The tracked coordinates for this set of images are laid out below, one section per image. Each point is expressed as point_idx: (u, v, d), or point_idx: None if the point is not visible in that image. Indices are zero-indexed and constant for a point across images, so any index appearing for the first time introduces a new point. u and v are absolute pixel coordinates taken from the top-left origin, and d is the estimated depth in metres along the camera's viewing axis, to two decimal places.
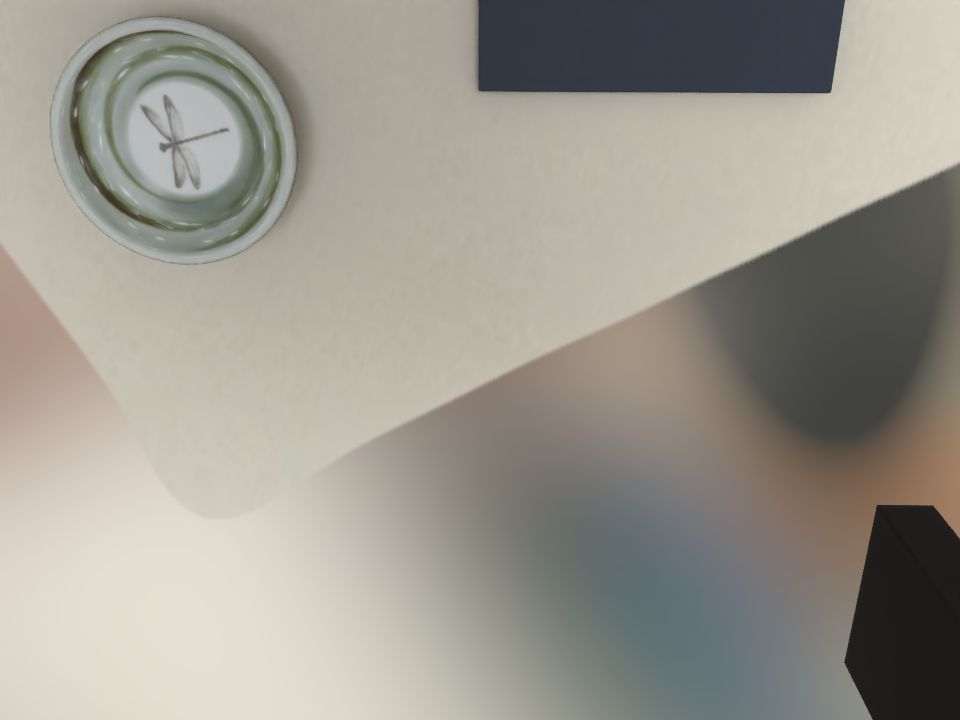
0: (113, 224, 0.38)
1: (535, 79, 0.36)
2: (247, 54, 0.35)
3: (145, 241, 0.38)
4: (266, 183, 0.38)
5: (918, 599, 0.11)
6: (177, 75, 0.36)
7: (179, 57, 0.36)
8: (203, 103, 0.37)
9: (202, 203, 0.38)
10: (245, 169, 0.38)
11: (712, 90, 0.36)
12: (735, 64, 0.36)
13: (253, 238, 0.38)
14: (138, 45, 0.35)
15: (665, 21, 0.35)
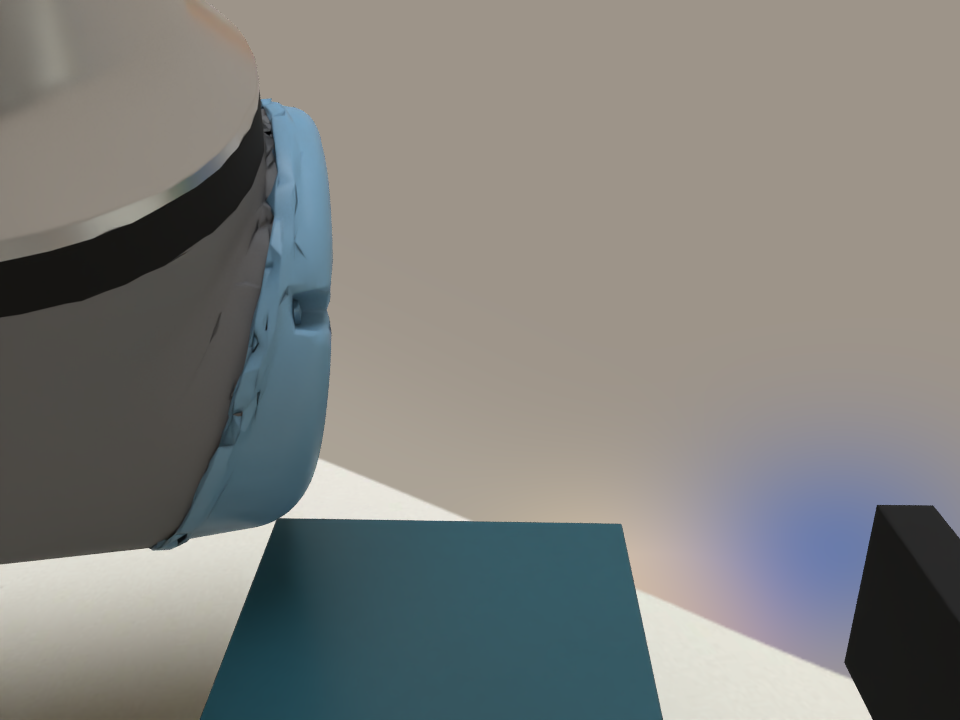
0: None
1: None
2: None
3: None
4: None
5: (918, 598, 0.11)
6: None
7: None
8: None
9: None
10: None
11: None
12: None
13: None
14: None
15: None
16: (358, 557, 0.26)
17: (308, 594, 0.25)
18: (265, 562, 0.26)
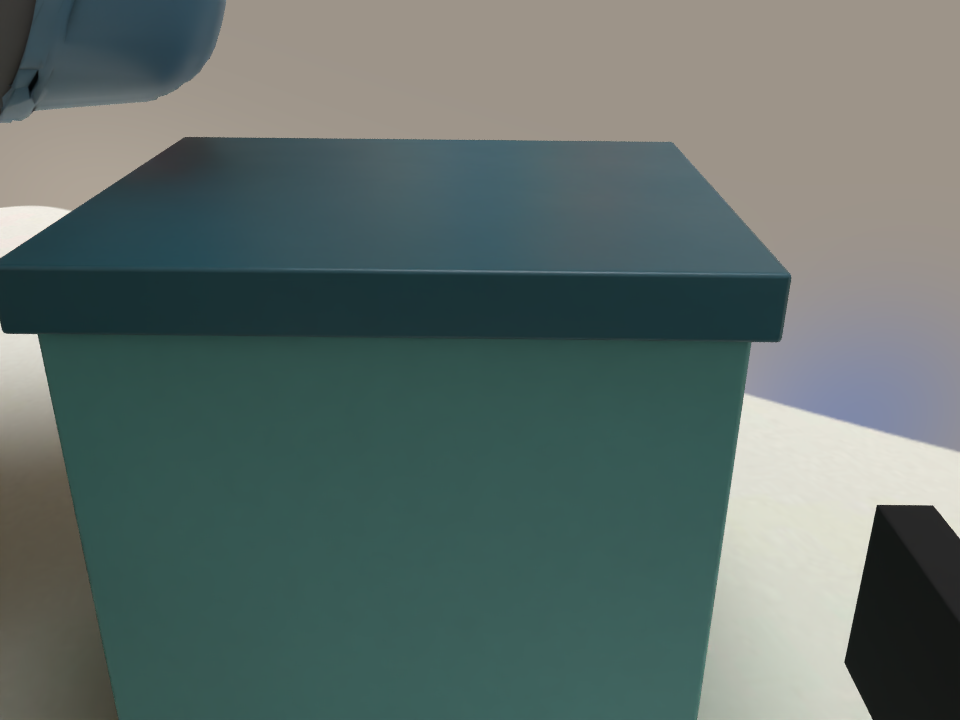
0: None
1: None
2: None
3: None
4: None
5: (918, 598, 0.11)
6: None
7: None
8: None
9: None
10: None
11: None
12: None
13: None
14: None
15: None
16: (295, 157, 0.18)
17: (214, 177, 0.17)
18: (157, 159, 0.18)
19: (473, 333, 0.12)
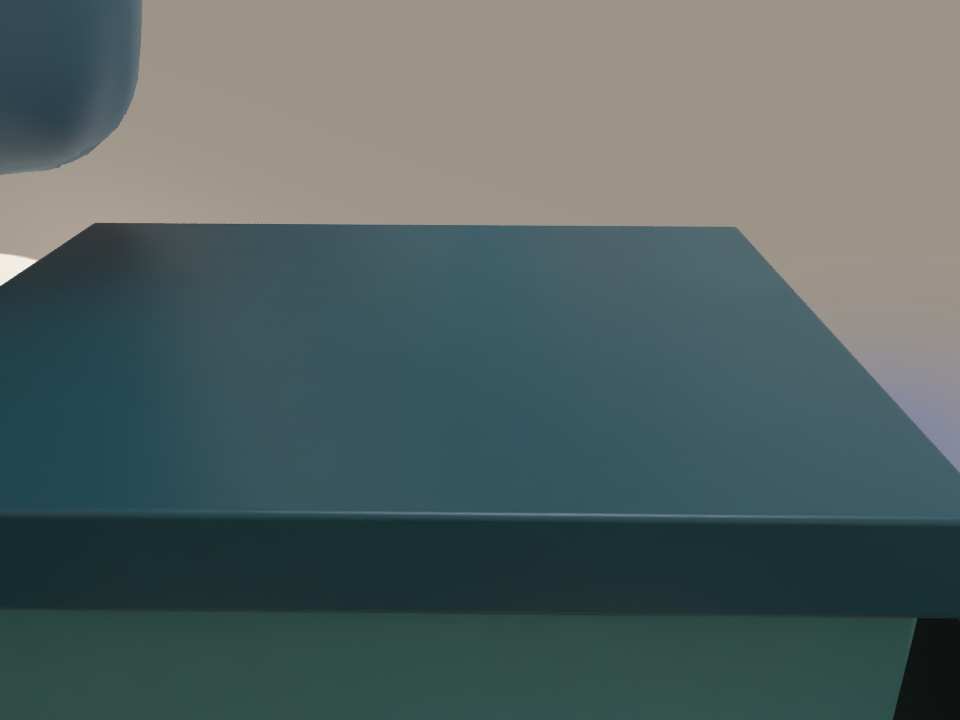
0: None
1: None
2: None
3: None
4: None
5: None
6: None
7: None
8: None
9: None
10: None
11: None
12: None
13: None
14: None
15: None
16: (231, 258, 0.13)
17: (110, 297, 0.12)
18: (42, 264, 0.13)
19: (472, 607, 0.08)
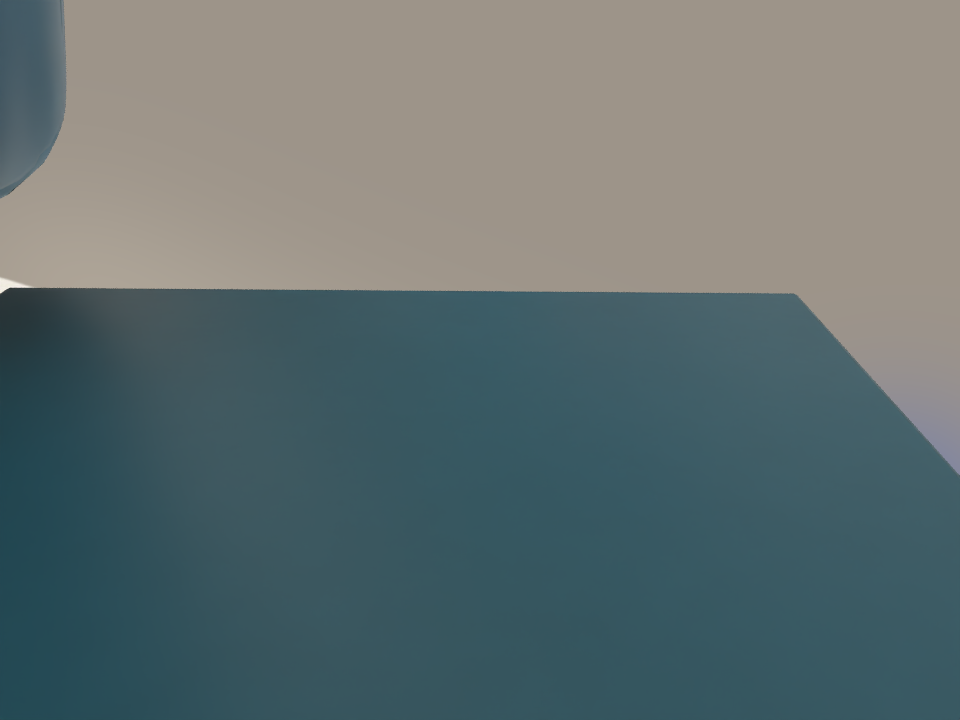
0: None
1: None
2: None
3: None
4: None
5: None
6: None
7: None
8: None
9: None
10: None
11: None
12: None
13: None
14: None
15: None
16: (167, 343, 0.11)
17: None
18: None
19: None
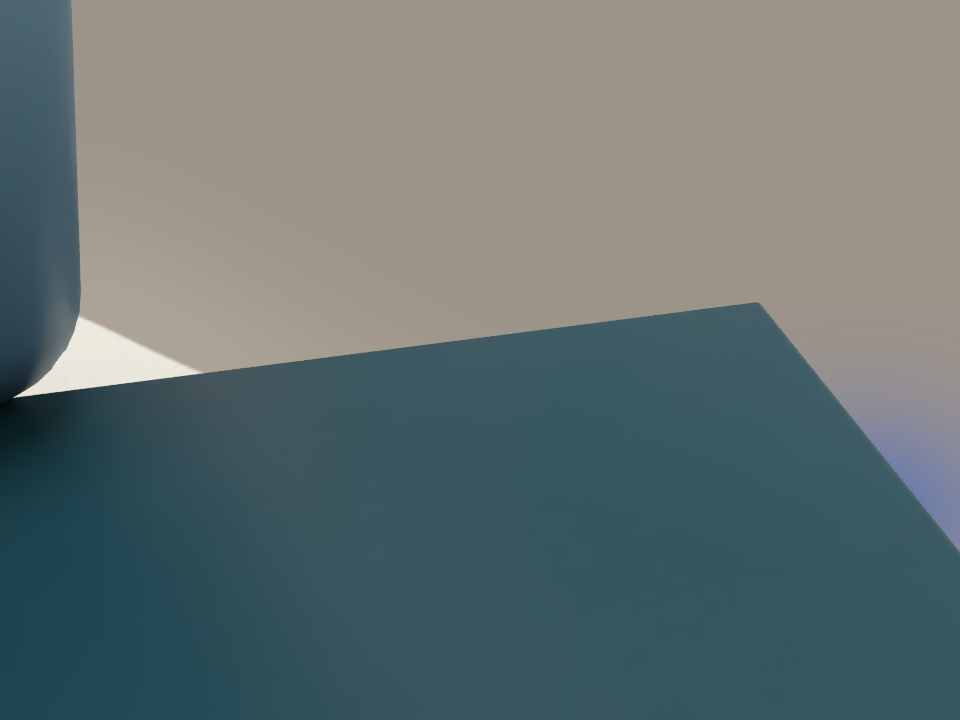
0: None
1: None
2: None
3: None
4: None
5: None
6: None
7: None
8: None
9: None
10: None
11: None
12: None
13: None
14: None
15: None
16: (140, 439, 0.11)
17: None
18: None
19: None
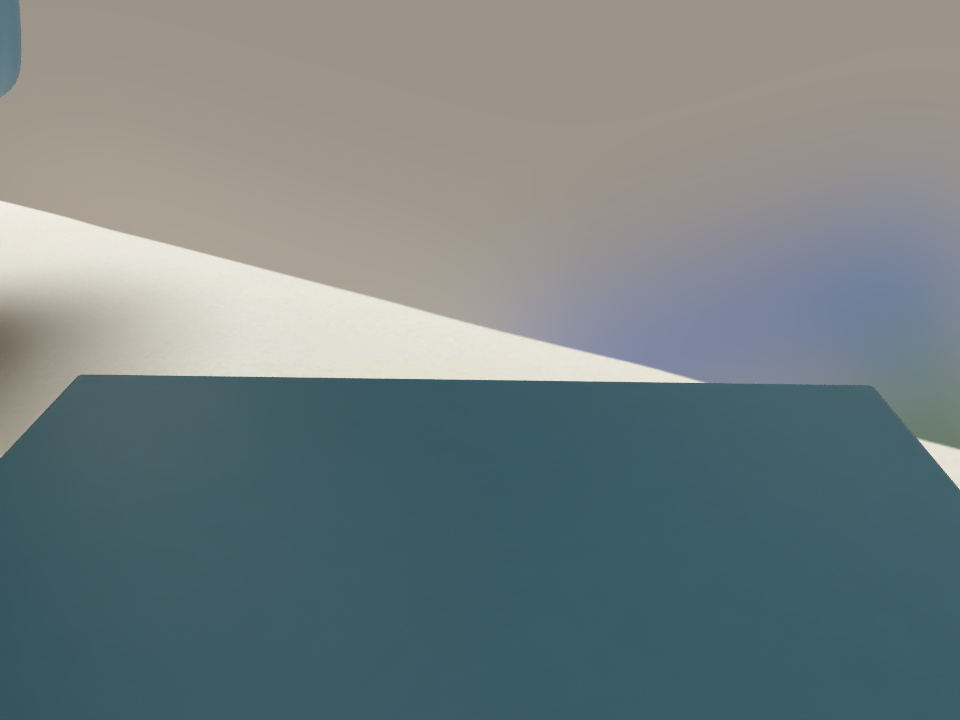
0: None
1: None
2: None
3: None
4: None
5: None
6: None
7: None
8: None
9: None
10: None
11: None
12: None
13: None
14: None
15: None
16: (252, 449, 0.10)
17: (96, 535, 0.09)
18: (11, 460, 0.10)
19: None
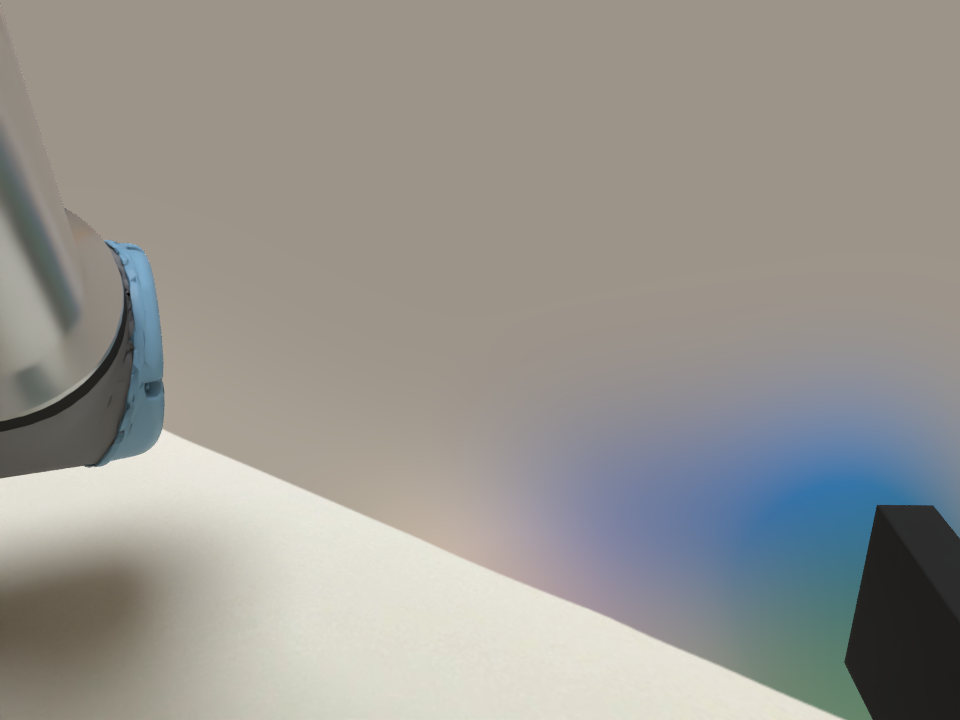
0: None
1: None
2: None
3: None
4: None
5: (918, 598, 0.11)
6: None
7: None
8: None
9: None
10: None
11: None
12: None
13: None
14: None
15: None
16: None
17: None
18: None
19: None
